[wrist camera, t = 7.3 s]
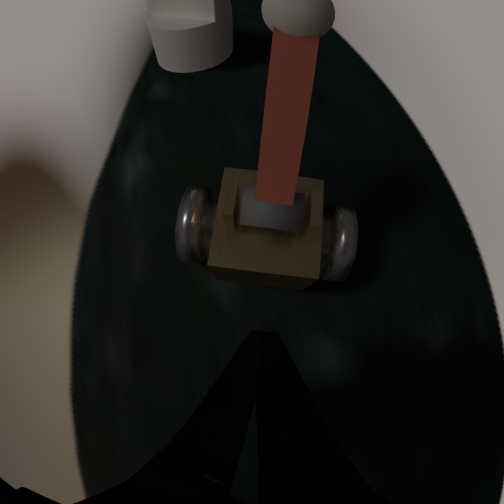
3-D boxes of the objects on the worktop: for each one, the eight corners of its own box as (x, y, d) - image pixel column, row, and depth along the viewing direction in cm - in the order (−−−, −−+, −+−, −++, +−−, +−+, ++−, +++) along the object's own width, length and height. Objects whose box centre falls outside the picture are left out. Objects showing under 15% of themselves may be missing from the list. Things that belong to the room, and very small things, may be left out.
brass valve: (331, 293, 20) (375, 275, 12) (186, 275, 20) (154, 247, 13) (335, 215, 21) (372, 166, 14) (201, 198, 21) (181, 140, 14)
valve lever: (299, 246, 14) (344, -19, 6) (237, 238, 14) (262, -32, 6) (296, 214, 16) (331, -4, 8) (244, 207, 16) (266, -13, 8)
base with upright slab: (142, 66, 26) (117, -14, 14) (186, 30, 28) (175, -42, 16) (206, 79, 25) (193, -19, 13) (246, 41, 27) (247, -41, 15)
